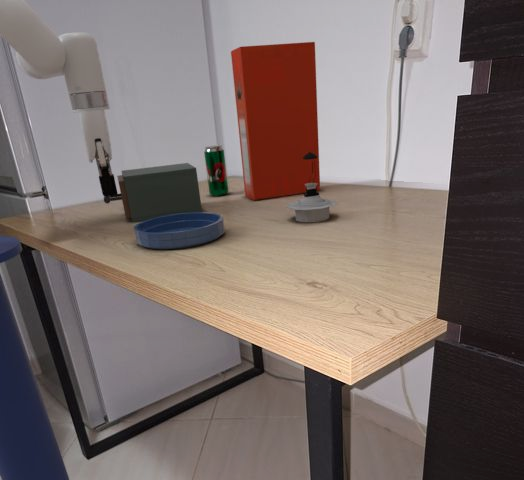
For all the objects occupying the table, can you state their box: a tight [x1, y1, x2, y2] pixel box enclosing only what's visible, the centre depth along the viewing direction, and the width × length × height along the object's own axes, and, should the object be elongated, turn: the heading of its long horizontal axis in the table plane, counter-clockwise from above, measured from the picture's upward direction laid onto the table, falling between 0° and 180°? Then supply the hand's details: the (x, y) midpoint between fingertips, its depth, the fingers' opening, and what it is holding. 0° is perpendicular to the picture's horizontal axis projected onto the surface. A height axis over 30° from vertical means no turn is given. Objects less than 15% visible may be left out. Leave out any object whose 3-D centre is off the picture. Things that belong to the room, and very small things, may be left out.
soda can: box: [204, 145, 229, 197], centre depth 129 cm, size 5×5×12 cm
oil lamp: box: [286, 151, 339, 223], centre depth 95 cm, size 12×10×10 cm
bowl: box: [133, 211, 226, 250], centre depth 91 cm, size 16×16×3 cm
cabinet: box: [121, 162, 203, 223], centre depth 114 cm, size 16×13×10 cm
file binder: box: [230, 41, 321, 201], centre depth 118 cm, size 8×17×32 cm, turn 109°
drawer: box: [103, 174, 132, 219], centre depth 113 cm, size 18×11×8 cm, turn 106°
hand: (110, 193), depth 112 cm, fingers closed
